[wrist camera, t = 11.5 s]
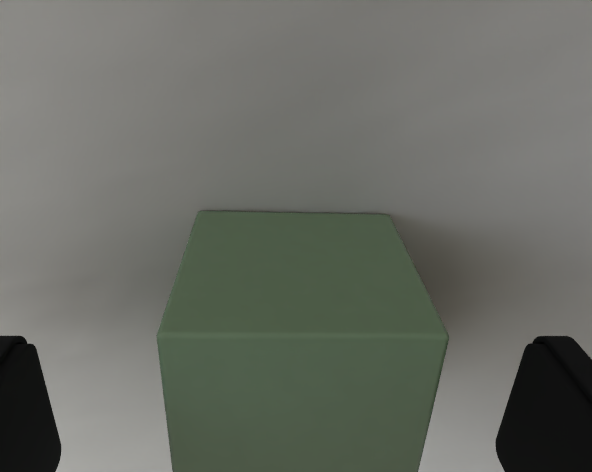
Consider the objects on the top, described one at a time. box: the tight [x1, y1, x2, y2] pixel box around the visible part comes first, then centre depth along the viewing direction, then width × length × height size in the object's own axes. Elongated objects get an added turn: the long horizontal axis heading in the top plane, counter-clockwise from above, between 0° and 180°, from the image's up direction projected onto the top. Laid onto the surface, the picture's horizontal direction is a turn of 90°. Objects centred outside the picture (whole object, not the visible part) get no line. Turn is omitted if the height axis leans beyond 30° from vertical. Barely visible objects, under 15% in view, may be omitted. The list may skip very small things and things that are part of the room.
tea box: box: [157, 211, 449, 472], centre depth 10 cm, size 4×4×4 cm
